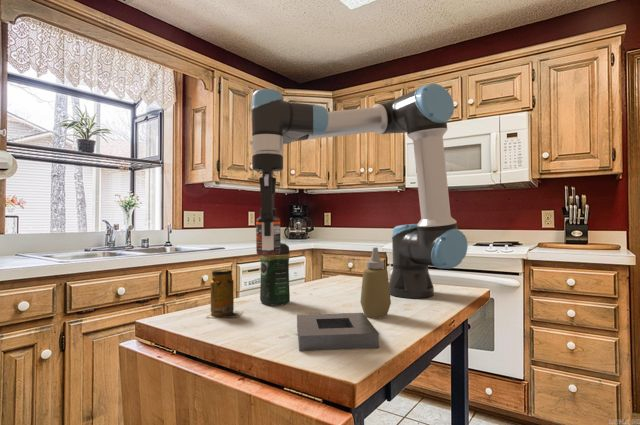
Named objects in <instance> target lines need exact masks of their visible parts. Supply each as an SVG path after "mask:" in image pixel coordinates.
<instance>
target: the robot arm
mask: <svg viewBox="0 0 640 425" xmlns="http://www.w3.org/2000/svg"><path fill="white" fill-rule="evenodd" d="M454 111H455V104H454V100H453V97H452V95H451V94H450V92H449V91H448V90H447V89H446V87H444V86H442V85H441V84H437V83H428V84H425V85H422V86H418V88H416V89H413V90H412V91H410V92H407V93H405V94H403V95H401V96H398V97H397V98H394V99H391V100H390V101H386V102H383V103H376V104H373V106H372V107H366V108H365V107H363V108H354V109H353V108H352V109H343V110H331V111H328V109H327V108H326V107H325V106H323V105H317V104H314V103H313V104H312V103H301V102H291V101H286V100H284V97H283V93H282V92H281V90H276V89H274V88H260V89H257V90H254V92H253V93H252V97H251V109H250V112H251V135H252V136H251V137H252V138H251V140H250V141H249V145H251V146H252V147H251V148H252V150H251V151H252V153H253V154H252V156H251V160H252V161H251V164H252V167H251V168H252V170H253V171H254V172H262V175H261V177H259V180H258V181H259V187H260V188H259V194H260V195H261V196H260V199H261V200H260V201H261V203H260V205H261V206H260V209H261V219H259V222H264V223H262V250H274V233H273V209H275V196H276V186H277V178H276V177H274V172H281V171H283V169H284V156H283V154H284V145H288V144H291V143H293V142H300V141H305V140H306V141H308V140H313V139H314V140H315V139H316V140H317V139H323V138H325V139H326V138H332V137H341V136H342V137H343V136H349V135H358V134H365V133H366V134H367V133H368V134H369V133H374V134H376V135H386V134H405V133H406V135H407V137H408V138H410V140H412V142H413V143H412V144H413V151H414V152H413V153H414V162H415V163H414V164H415V171H416V181H417V192H418V199H419V200H418V201H419V211H420V220H419V221H418V223H411V224H401V225H395V227H394V228H393V229H392V235H391V240H392V247H391V248H392V271H391V275H390V278H389V290H390V296H393V297H398V298H406V299H423V298H424V299H425V298H430V297H433V296H434V295H435V287H434V284H433V281H432V278H431V274H430V272H429V267H433V268H437V269H453V268H456V267H458V266H459V265H460V264H461V263H462V262H463V260H464V259H465V257H466V255H467V252H468V246H469V244H468V239H467V236H466V235H465V234H464V233H463V232H462V231H461V230H459V229H458V223H457V220H456V219H455V218H453V217H452V214H451V207H450V198H449V197H450V196H449V195H450V194H449V189H448V188H449V186H448V185H449V184H448V177H447V166H446V158H445V156H446V155H445V147H444V135H445V134H446V132H447V131H448V121H449V120H450V119H451V118H452V116H453V114H454Z"/></svg>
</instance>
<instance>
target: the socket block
mask: <svg viewBox="0 0 640 425" xmlns="http://www.w3.org/2000/svg"><path fill="white" fill-rule="evenodd" d="M296 328H297V329H296V330H297V332H296V333H297V340H298V343H297V344H298V351H299V352H313V351H338V350H361V349H362V350H363V349H380V336H379V335H380V334H379V332H378V330H377V329H376V328H375V327H374V325H373V324H372V323H371V321H370V320H369V319H368V317H367V316H365V315H364V312H347V313H346V312H345V313H341V312H340V313H315V314H314V313H310V314H307V313H306V314H296Z"/></svg>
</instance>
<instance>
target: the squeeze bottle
mask: <svg viewBox="0 0 640 425" xmlns="http://www.w3.org/2000/svg"><path fill="white" fill-rule="evenodd" d="M389 281H390V279H389V271H388V270H387V269H385V261H383V260H381V257H380V254H379V249H378V247H372V252H371V257H370V260H366V268H365V269H364V270H363V271H362V281H361V291H360V292H361V293H360V302H359V303H360V305H361V306H360V307H361V308H362V310H363V312H362V313H364V315H365V316H366V317H367V318H371V319H382V318H386V317H387V316H388V313H389V311H390V307H391V305H392V302H391V301H392V300H391V295H390V290H389Z"/></svg>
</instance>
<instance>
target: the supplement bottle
mask: <svg viewBox="0 0 640 425" xmlns="http://www.w3.org/2000/svg"><path fill="white" fill-rule="evenodd" d="M259 219H261V208H260V209H259V216H258V217H257V218H256V221H255V232H256V233H255V239H256V240H255V241H256V242H255V244H256V245H255V246H256V247H255V249H256V254H257V255H258V256H260V255H262V256H268V255H270V256H272V255H278V254H280V252H281V251H280V250H281V243H282V242H281V240H282V239H281V237H282V236H281V219H280V217H278V216H277V208H274V209H273V233H274V250H262V223H264V222H259Z"/></svg>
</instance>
